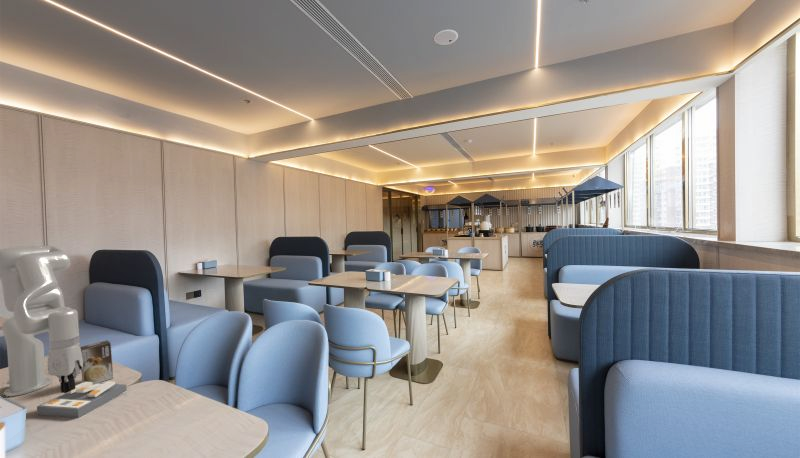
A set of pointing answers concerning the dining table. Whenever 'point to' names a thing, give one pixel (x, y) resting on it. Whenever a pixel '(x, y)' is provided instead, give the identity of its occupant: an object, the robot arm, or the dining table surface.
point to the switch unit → (78, 402)
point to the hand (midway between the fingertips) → (68, 390)
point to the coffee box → (97, 362)
